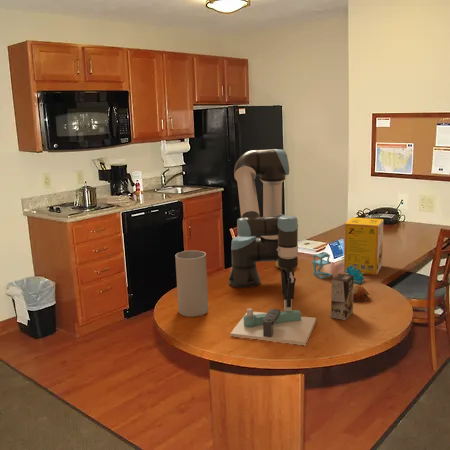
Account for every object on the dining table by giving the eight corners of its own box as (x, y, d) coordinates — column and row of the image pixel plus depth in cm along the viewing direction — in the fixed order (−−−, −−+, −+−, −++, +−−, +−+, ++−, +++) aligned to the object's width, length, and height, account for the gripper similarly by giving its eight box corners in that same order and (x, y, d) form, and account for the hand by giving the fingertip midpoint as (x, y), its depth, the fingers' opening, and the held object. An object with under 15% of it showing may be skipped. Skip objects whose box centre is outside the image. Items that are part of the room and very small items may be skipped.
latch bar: (245, 327, 193) (245, 312, 191) (242, 322, 198) (242, 307, 196) (302, 320, 197) (302, 306, 196) (297, 315, 202) (297, 301, 201)
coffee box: (346, 320, 200) (346, 281, 197) (330, 317, 204) (330, 279, 200) (353, 312, 208) (354, 275, 204) (338, 309, 211) (338, 272, 207)
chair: (321, 272, 260) (321, 249, 258) (332, 275, 254) (332, 252, 251) (309, 275, 256) (309, 252, 254) (321, 279, 249) (321, 255, 247)
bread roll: (356, 301, 230) (349, 284, 231) (375, 296, 222) (368, 279, 223) (344, 307, 223) (337, 289, 224) (363, 302, 216) (356, 285, 216)
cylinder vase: (211, 306, 219) (209, 250, 214) (203, 318, 207) (201, 259, 202) (183, 305, 222) (180, 250, 216) (174, 316, 210) (171, 258, 204)
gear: (353, 283, 237) (344, 265, 241) (345, 289, 241) (336, 271, 246) (369, 282, 242) (360, 264, 247) (362, 288, 246) (353, 270, 251)
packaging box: (350, 262, 274) (351, 217, 268) (382, 265, 267) (383, 219, 261) (343, 271, 260) (344, 223, 254) (376, 274, 253) (378, 225, 247)
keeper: (262, 336, 186) (261, 321, 184) (270, 322, 197) (270, 308, 196) (272, 337, 184) (272, 322, 183) (280, 323, 196) (280, 309, 194)
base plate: (230, 336, 189) (230, 333, 189) (247, 314, 210) (247, 311, 209) (305, 346, 180) (305, 342, 180) (316, 321, 200) (316, 318, 200)
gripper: (273, 252, 201) (274, 308, 206) (282, 261, 188) (283, 321, 194) (292, 250, 202) (292, 306, 207) (302, 260, 189) (302, 319, 195)
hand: (287, 313), depth 200 cm, fingers closed
